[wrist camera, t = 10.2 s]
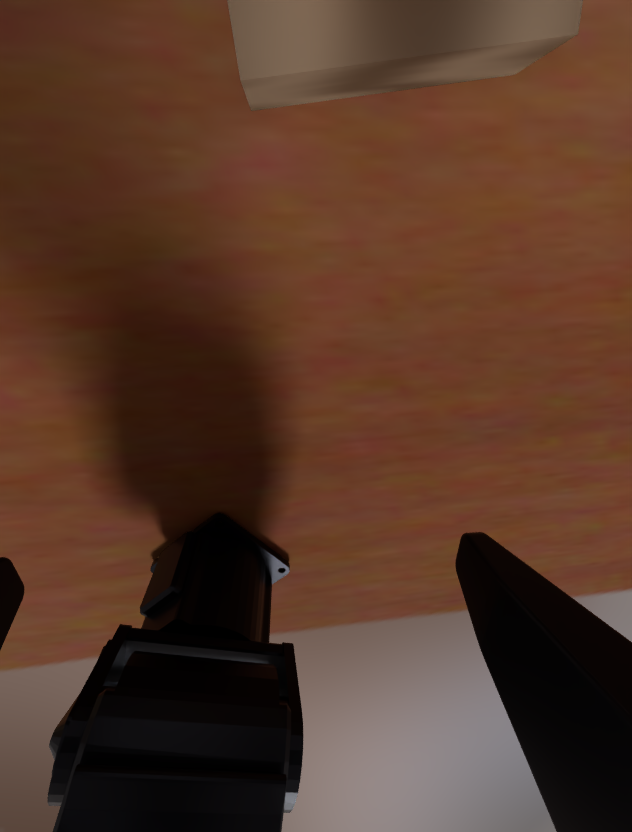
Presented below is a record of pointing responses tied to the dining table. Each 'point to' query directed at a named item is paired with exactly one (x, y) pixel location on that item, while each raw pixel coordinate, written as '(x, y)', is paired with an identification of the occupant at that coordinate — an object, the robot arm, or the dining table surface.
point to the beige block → (387, 44)
